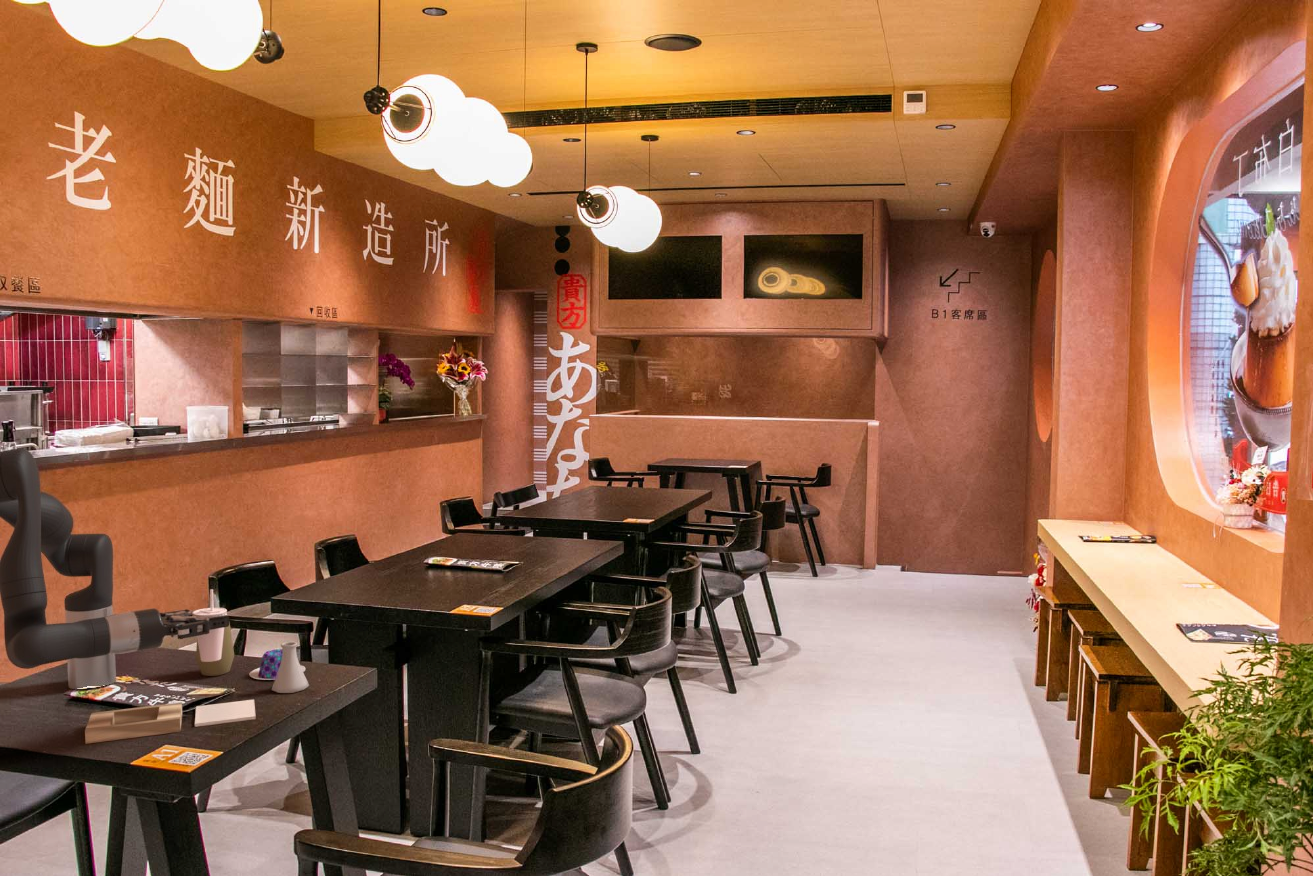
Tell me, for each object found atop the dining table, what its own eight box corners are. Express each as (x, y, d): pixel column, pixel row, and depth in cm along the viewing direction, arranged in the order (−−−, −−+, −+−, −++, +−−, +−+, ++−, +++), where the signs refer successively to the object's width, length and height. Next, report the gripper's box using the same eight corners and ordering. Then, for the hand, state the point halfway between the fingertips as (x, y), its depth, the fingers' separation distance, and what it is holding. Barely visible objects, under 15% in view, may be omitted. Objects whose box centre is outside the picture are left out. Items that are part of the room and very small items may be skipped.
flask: (265, 692, 222) (263, 646, 222) (289, 682, 229) (287, 637, 228) (292, 696, 220) (290, 649, 219) (315, 686, 226) (313, 641, 226)
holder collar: (92, 725, 202) (91, 713, 202) (182, 714, 208) (181, 702, 208) (85, 743, 193) (84, 730, 192) (180, 731, 199) (179, 718, 199)
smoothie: (215, 664, 202) (213, 593, 201) (186, 662, 204) (184, 592, 203) (235, 655, 209) (233, 587, 208) (207, 653, 210) (205, 585, 209)
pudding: (295, 682, 230) (294, 659, 229) (240, 683, 230) (240, 660, 229) (312, 666, 242) (311, 644, 241) (260, 667, 242) (260, 645, 241)
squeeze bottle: (225, 678, 232) (222, 599, 231) (189, 678, 232) (186, 599, 231) (240, 667, 240) (238, 590, 239) (206, 667, 240) (203, 590, 239)
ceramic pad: (196, 709, 211) (196, 706, 211) (254, 702, 216) (254, 699, 216) (194, 726, 201) (194, 723, 201) (255, 719, 205) (255, 716, 205)
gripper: (142, 619, 190) (235, 605, 202) (120, 605, 201) (209, 593, 212) (143, 659, 191) (236, 643, 202) (121, 643, 202) (210, 629, 213)
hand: (222, 617), depth 207 cm, fingers closed on smoothie, 6 cm apart
